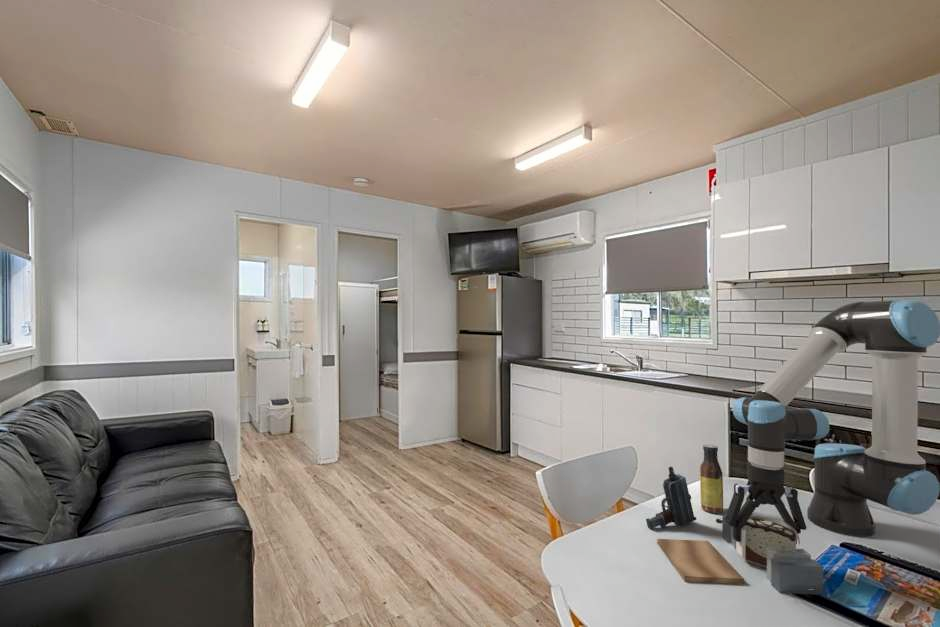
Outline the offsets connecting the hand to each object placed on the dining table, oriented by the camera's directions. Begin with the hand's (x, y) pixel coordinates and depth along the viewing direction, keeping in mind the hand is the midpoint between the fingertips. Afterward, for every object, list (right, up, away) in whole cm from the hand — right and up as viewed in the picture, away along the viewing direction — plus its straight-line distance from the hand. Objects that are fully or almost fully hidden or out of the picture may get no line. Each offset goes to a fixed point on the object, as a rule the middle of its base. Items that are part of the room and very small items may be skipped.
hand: (764, 555), depth 107 cm
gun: (-14, -2, +19) cm, 24 cm away
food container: (+1, -2, 0) cm, 2 cm away
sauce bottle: (+3, -2, +30) cm, 30 cm away
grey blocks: (+1, -2, +2) cm, 3 cm away
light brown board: (-17, -2, 0) cm, 17 cm away
